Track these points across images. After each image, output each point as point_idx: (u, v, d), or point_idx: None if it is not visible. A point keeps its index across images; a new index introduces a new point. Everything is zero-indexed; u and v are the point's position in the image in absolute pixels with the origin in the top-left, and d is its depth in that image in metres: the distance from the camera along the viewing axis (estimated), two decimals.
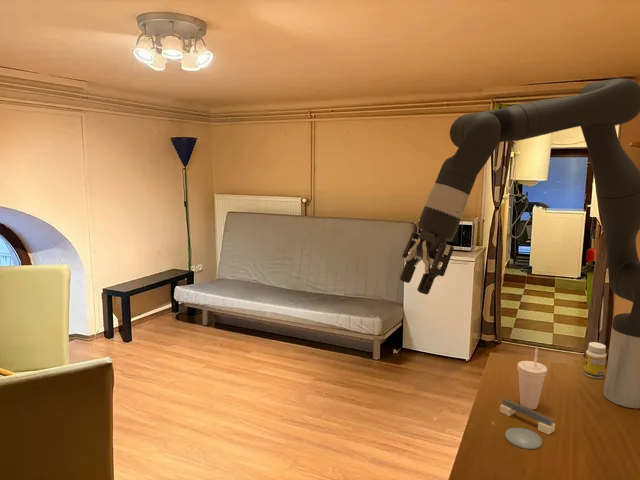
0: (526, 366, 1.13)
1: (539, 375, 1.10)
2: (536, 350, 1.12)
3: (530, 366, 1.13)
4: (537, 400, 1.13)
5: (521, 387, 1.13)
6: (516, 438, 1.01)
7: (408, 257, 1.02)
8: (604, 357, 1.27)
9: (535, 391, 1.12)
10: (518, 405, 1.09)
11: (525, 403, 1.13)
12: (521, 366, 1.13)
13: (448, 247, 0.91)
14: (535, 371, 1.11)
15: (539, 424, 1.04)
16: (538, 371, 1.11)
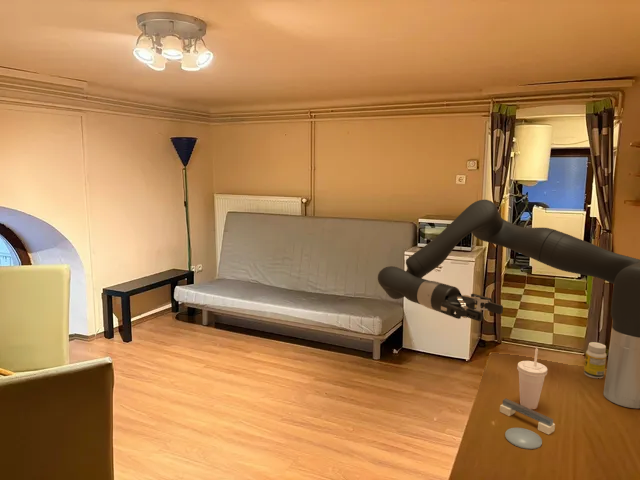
0: (526, 366, 1.13)
1: (539, 375, 1.10)
2: (536, 350, 1.12)
3: (530, 366, 1.13)
4: (537, 400, 1.13)
5: (521, 387, 1.13)
6: (516, 438, 1.01)
7: None
8: (604, 357, 1.27)
9: (535, 391, 1.12)
10: (518, 405, 1.09)
11: (525, 403, 1.13)
12: (521, 366, 1.13)
13: (441, 307, 1.23)
14: (535, 371, 1.11)
15: (539, 424, 1.04)
16: (538, 371, 1.11)
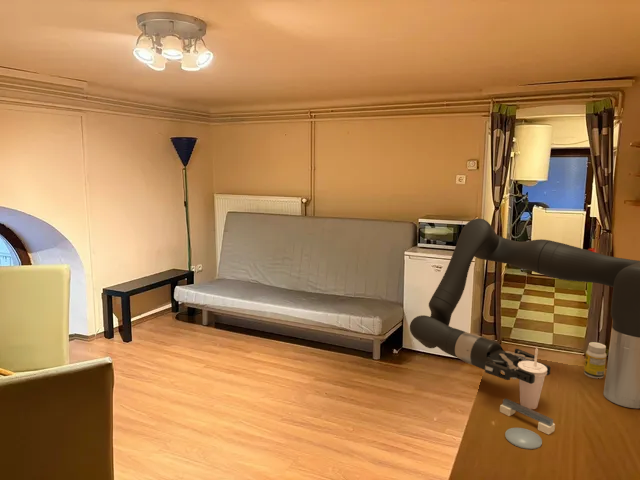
0: (526, 366, 1.13)
1: (539, 376, 1.10)
2: (536, 350, 1.12)
3: (530, 366, 1.13)
4: (537, 400, 1.13)
5: (521, 387, 1.13)
6: (516, 438, 1.01)
7: None
8: (604, 357, 1.27)
9: (535, 391, 1.12)
10: (518, 405, 1.09)
11: (525, 403, 1.13)
12: (521, 366, 1.13)
13: (486, 367, 1.15)
14: (535, 371, 1.11)
15: (539, 424, 1.04)
16: (538, 371, 1.11)
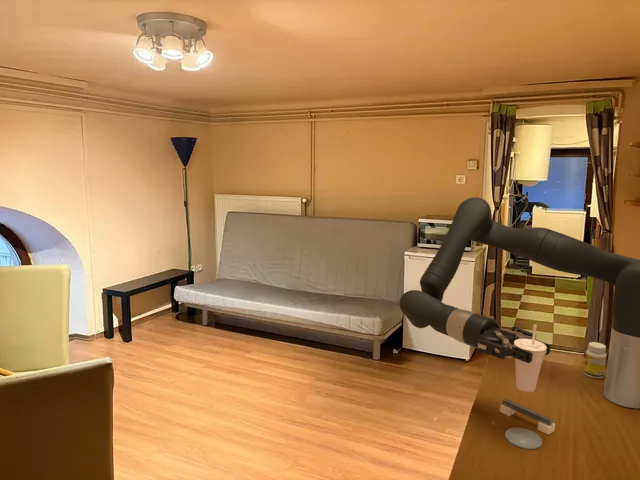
0: (523, 344, 1.02)
1: (537, 354, 0.99)
2: (534, 326, 1.01)
3: (528, 344, 1.02)
4: (535, 382, 1.02)
5: (517, 367, 1.02)
6: (516, 438, 1.01)
7: None
8: (604, 357, 1.27)
9: (533, 372, 1.00)
10: (518, 405, 1.09)
11: (522, 385, 1.02)
12: (518, 344, 1.02)
13: (479, 345, 1.04)
14: (533, 349, 0.99)
15: (539, 424, 1.04)
16: (536, 349, 0.99)
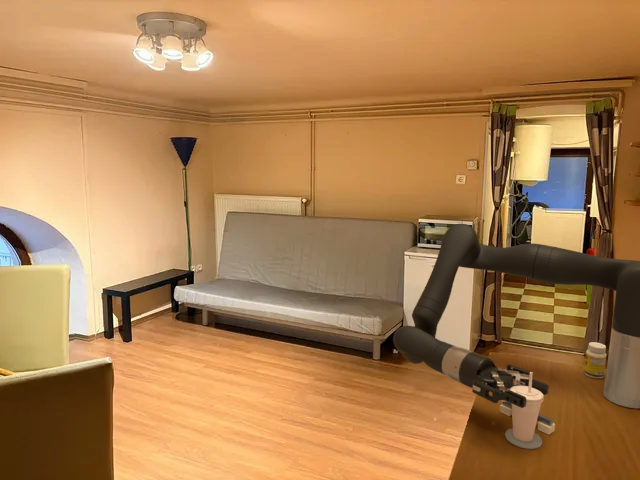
0: (519, 392, 1.00)
1: (534, 403, 0.97)
2: (530, 374, 0.99)
3: (524, 392, 1.00)
4: (532, 431, 0.99)
5: (514, 416, 1.00)
6: None
7: None
8: (604, 357, 1.27)
9: (530, 421, 0.98)
10: None
11: (519, 435, 1.00)
12: None
13: (473, 386, 1.02)
14: (529, 398, 0.98)
15: (539, 424, 1.04)
16: (533, 398, 0.98)
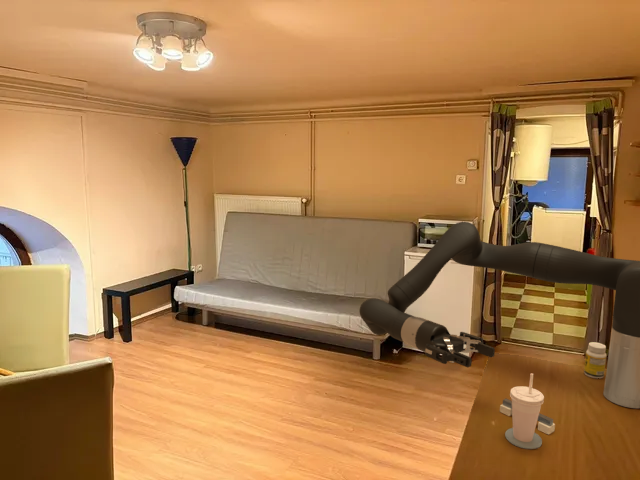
0: (520, 393, 0.99)
1: (534, 405, 0.97)
2: (531, 375, 0.99)
3: (524, 393, 0.99)
4: (532, 432, 0.99)
5: (514, 417, 1.00)
6: None
7: None
8: (604, 357, 1.27)
9: (530, 422, 0.98)
10: None
11: (519, 435, 1.00)
12: (514, 393, 1.00)
13: (426, 350, 1.11)
14: (530, 400, 0.97)
15: (539, 424, 1.04)
16: (533, 400, 0.97)
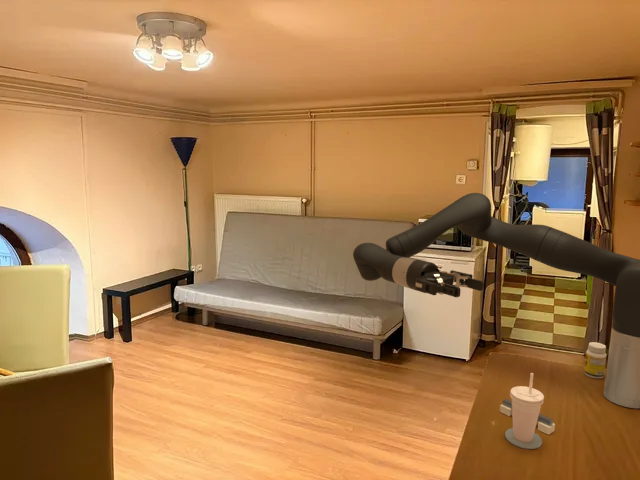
0: (520, 393, 1.00)
1: (534, 404, 0.97)
2: (531, 375, 0.99)
3: (524, 393, 0.99)
4: (532, 432, 0.99)
5: (514, 417, 1.00)
6: None
7: None
8: (604, 357, 1.27)
9: (530, 422, 0.98)
10: None
11: (519, 435, 1.00)
12: (514, 393, 1.00)
13: (416, 283, 1.13)
14: (530, 399, 0.97)
15: (539, 424, 1.04)
16: (533, 399, 0.97)
